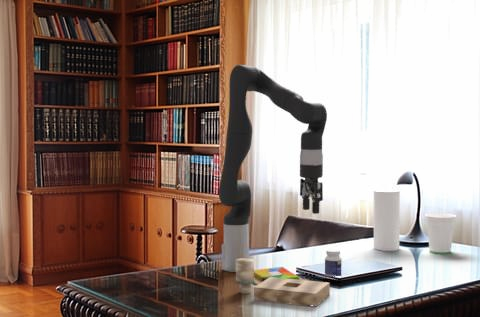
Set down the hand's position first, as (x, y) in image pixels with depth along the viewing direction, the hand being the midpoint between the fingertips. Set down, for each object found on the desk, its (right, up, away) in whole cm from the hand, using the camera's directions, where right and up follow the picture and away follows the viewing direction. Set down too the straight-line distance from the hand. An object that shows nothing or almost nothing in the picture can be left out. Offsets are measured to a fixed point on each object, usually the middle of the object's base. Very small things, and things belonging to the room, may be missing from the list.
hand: (310, 211), depth 215 cm
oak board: (-7, -26, -14) cm, 30 cm away
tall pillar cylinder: (+39, -21, +62) cm, 76 cm away
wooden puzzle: (-12, -25, +9) cm, 29 cm away
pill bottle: (+9, -24, +10) cm, 28 cm away
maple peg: (-22, -25, -7) cm, 34 cm away
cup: (+60, -21, +53) cm, 83 cm away
